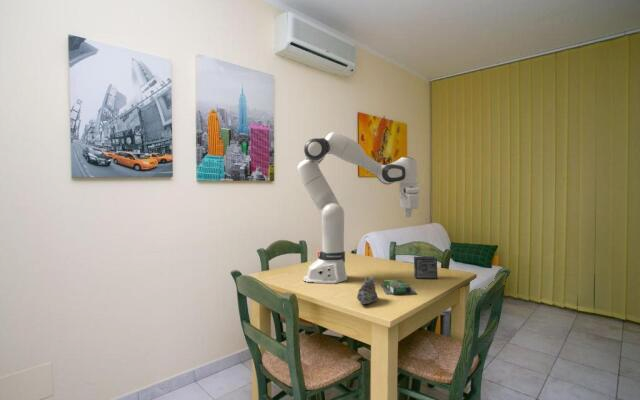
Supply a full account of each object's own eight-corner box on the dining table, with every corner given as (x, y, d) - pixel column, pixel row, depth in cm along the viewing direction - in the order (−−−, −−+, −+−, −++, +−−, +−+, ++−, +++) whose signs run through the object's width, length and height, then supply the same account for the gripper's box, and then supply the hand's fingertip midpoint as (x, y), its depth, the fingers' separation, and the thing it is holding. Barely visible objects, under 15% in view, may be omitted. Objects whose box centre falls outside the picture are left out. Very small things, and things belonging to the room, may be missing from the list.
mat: (386, 294, 146) (386, 293, 146) (380, 285, 160) (380, 284, 160) (416, 293, 146) (416, 293, 146) (408, 285, 160) (408, 284, 160)
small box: (434, 276, 177) (434, 256, 176) (437, 279, 170) (437, 258, 170) (413, 276, 178) (413, 255, 177) (416, 279, 171) (416, 258, 171)
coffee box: (392, 287, 144) (383, 280, 158) (392, 294, 145) (383, 286, 158) (410, 286, 146) (399, 279, 159) (411, 293, 146) (399, 285, 159)
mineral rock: (361, 308, 129) (361, 282, 129) (344, 301, 138) (344, 276, 138) (386, 302, 136) (386, 277, 136) (369, 295, 145) (368, 272, 145)
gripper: (397, 189, 181) (397, 215, 181) (407, 189, 161) (407, 218, 161) (409, 189, 181) (409, 215, 181) (420, 189, 161) (420, 218, 161)
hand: (408, 217), depth 171 cm, fingers closed
